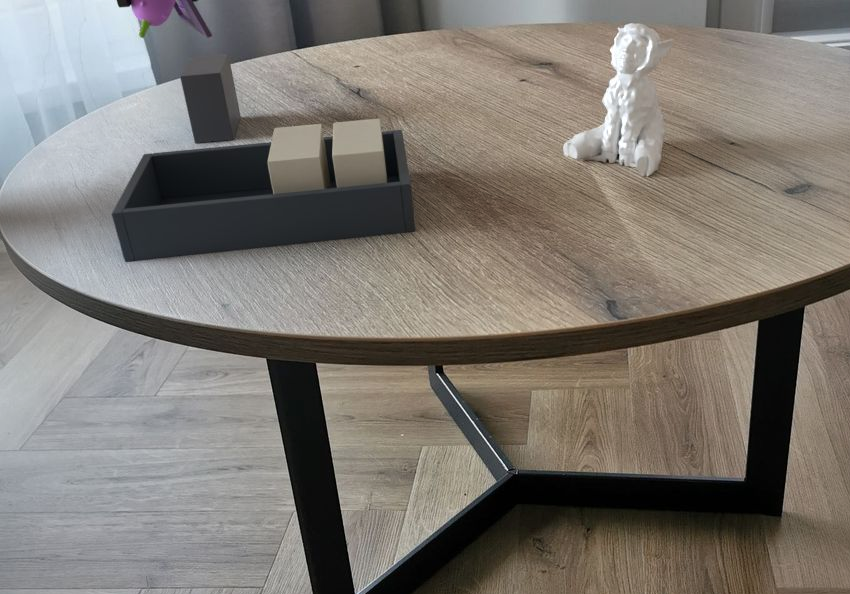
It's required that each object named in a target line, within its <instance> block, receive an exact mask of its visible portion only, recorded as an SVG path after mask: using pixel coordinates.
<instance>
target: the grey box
mask: <svg viewBox="0 0 850 594" xmlns="http://www.w3.org/2000/svg"><path fill="white" fill-rule="evenodd" d="M186 63H187V64H186V65H185V67H184V69H183V71H182V72H181V73H180V77H179V78H180V82H181V87H182V91H183V96H184V102H185V104H186V110H187V113H188V114H187V115H188V118H189V123H190V127H191V131H192V137H193V141H194V144H202V143H201V142H204V143H212V142H211V141H215V142H223V141H234V140H235V137H236V135H237V130H238V127H239V125H240V121H241V118H242V117H241V112H240V107H239V106H240V105H239V101H238V96H237V91H236V86H235V85H236V84H235V80H234V75H233V70H232V65H231V60H230V55H229V53H220V54H210V55H198V56H190V58H189V59H188V62H186Z"/></svg>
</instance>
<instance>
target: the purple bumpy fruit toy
mask: <svg viewBox="0 0 850 594" xmlns="http://www.w3.org/2000/svg"><path fill="white" fill-rule="evenodd" d="M178 2H179V4H180V5H179V4H178ZM178 2H177V0H131V5H130V6H131V11H132V13H133V15H134V16H135V18H136V19H138V20H139V22H141V25H140V28H139V29H138V31H139V33H138V35H137V36H138V37H139V38H140V39H141V38H142V39H143V38H145V37H146V34H147V32H148V30H149V28H150V27H160V26H162V25H163V24H165V22H166V21H167V20H168V19H169V18H170V16H171V14H172V12H173V9H174V11H175V12H176V14H177V16H178V17H179V19H180V20H181V21H183V22H184V23H186V24H187V25H188V26H190V27H191V28H193V29H194V30H196V31H197V32H199V33H200V34H201V35H202V36H204V37H205V38H207V39H209V38H211V37H212V36H213V34H212V32H211V30H210V29H209V26H208V25H207V24H206V22H205V19H204V18H203V16H202V15H201V13H200V11H199V10H198V8H197V6H196V4H195V2H193V1H192V0H178ZM183 9H184V10H185V11H186V12H185V11H184V10H183Z"/></svg>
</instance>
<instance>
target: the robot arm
mask: <svg viewBox="0 0 850 594" xmlns="http://www.w3.org/2000/svg"><path fill="white" fill-rule="evenodd" d="M192 1H193V3H195V2H198V1H199V0H192ZM116 3H117V6H118V8H121V9H122V8H130V6H131V0H116Z"/></svg>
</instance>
